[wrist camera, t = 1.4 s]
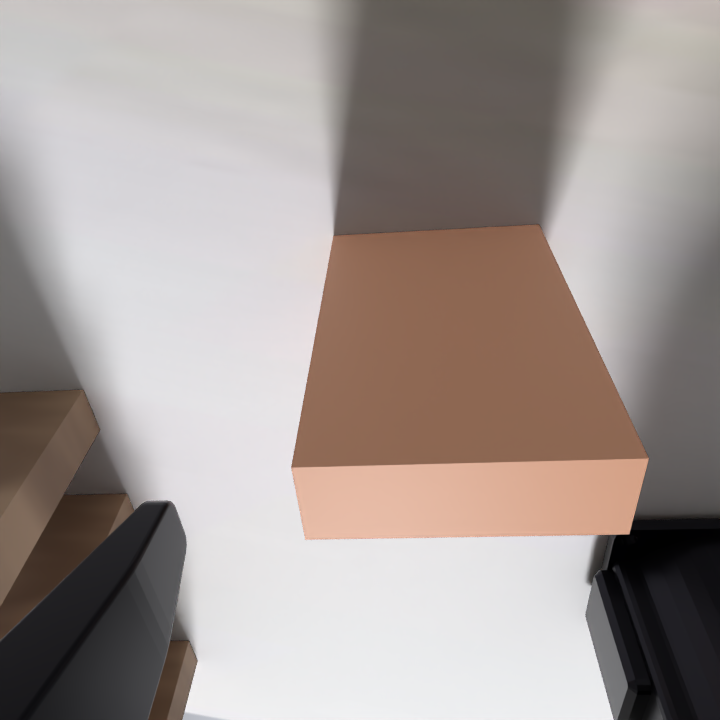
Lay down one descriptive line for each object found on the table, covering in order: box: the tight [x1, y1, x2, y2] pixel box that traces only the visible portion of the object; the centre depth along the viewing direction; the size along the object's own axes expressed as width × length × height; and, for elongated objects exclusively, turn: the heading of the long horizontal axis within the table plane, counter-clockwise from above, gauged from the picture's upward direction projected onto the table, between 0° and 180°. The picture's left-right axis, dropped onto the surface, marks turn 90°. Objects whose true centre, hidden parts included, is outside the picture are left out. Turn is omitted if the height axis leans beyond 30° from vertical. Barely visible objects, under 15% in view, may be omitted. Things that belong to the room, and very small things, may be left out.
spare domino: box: [291, 224, 649, 540], centre depth 13 cm, size 5×2×8 cm, turn 95°
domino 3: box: [0, 494, 134, 640], centre depth 19 cm, size 5×2×8 cm, turn 94°
